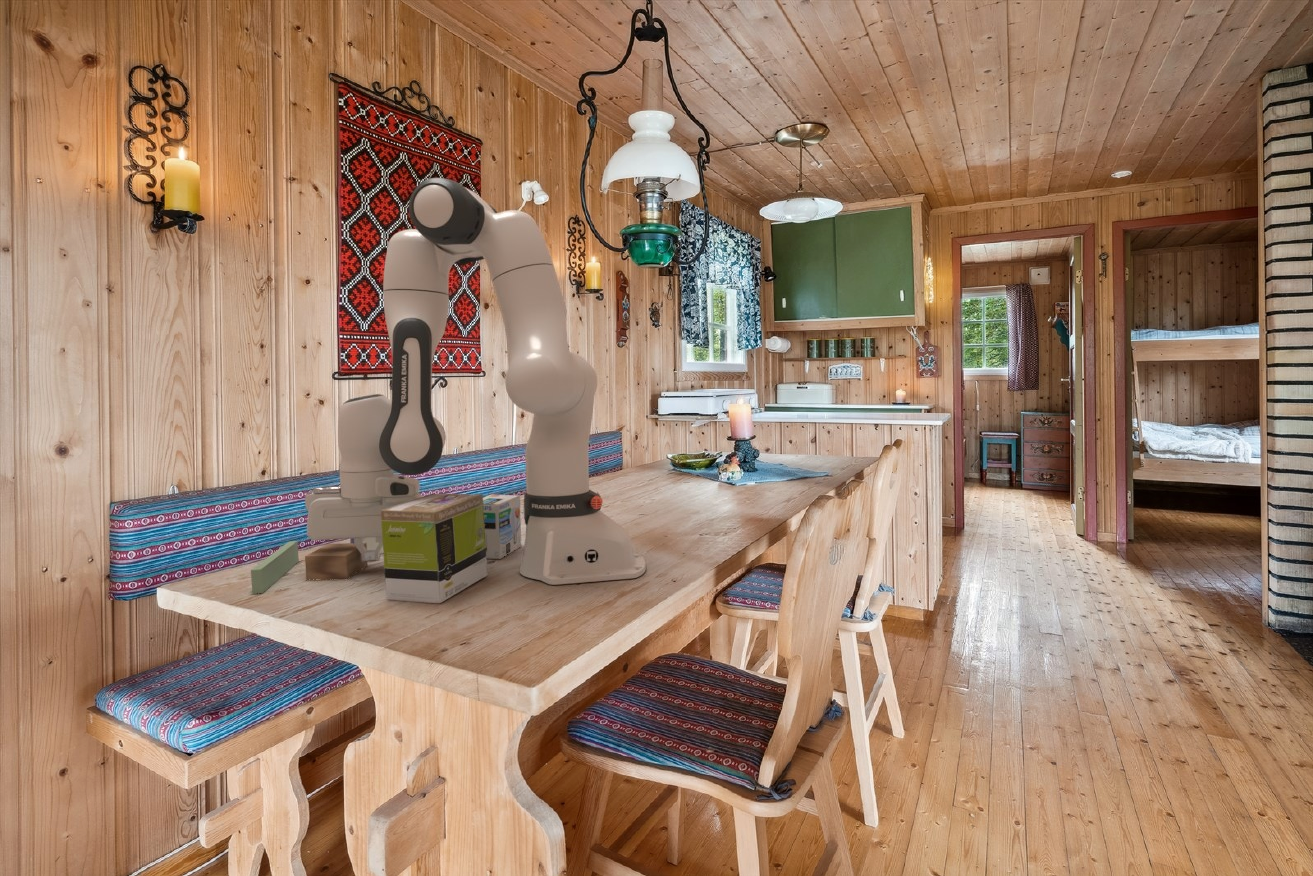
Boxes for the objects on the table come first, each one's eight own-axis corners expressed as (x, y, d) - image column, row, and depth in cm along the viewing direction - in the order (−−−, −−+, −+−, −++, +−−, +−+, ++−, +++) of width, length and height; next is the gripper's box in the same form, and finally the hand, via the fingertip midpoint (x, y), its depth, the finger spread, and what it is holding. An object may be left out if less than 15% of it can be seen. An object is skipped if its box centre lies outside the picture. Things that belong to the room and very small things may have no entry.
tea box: (437, 573, 121) (434, 491, 120) (488, 577, 119) (485, 493, 118) (383, 601, 107) (378, 507, 106) (440, 605, 104) (436, 509, 103)
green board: (298, 561, 131) (297, 541, 130) (262, 593, 111) (260, 569, 111) (290, 562, 130) (288, 541, 130) (252, 594, 111) (250, 570, 111)
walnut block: (367, 566, 128) (366, 543, 127) (347, 581, 119) (346, 555, 118) (329, 567, 127) (328, 543, 127) (306, 581, 118) (305, 556, 118)
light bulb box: (500, 560, 130) (498, 504, 129) (468, 558, 132) (465, 503, 131) (522, 546, 141) (521, 494, 140) (492, 545, 142) (490, 493, 141)
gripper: (299, 490, 117) (303, 569, 119) (424, 485, 122) (427, 561, 123) (309, 485, 124) (313, 560, 125) (428, 480, 128) (430, 552, 129)
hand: (371, 561), depth 124 cm, fingers closed
